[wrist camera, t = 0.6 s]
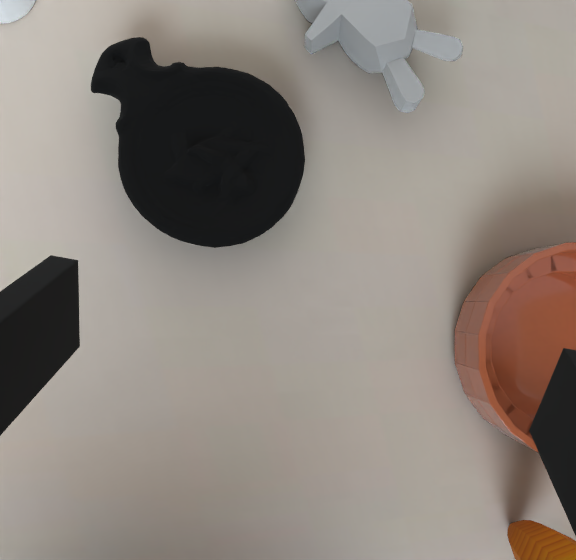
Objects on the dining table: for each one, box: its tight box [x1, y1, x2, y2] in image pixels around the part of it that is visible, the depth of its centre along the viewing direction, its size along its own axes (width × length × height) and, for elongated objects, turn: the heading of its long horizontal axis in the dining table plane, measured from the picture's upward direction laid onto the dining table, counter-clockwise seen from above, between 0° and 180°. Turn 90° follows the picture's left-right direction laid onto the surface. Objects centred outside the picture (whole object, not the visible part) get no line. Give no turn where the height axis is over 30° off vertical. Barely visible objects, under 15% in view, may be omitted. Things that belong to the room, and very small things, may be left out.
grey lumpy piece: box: [295, 0, 463, 113], centre depth 46 cm, size 10×5×15 cm
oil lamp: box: [91, 37, 305, 248], centre depth 45 cm, size 15×20×5 cm
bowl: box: [455, 243, 576, 453], centre depth 46 cm, size 17×17×6 cm
